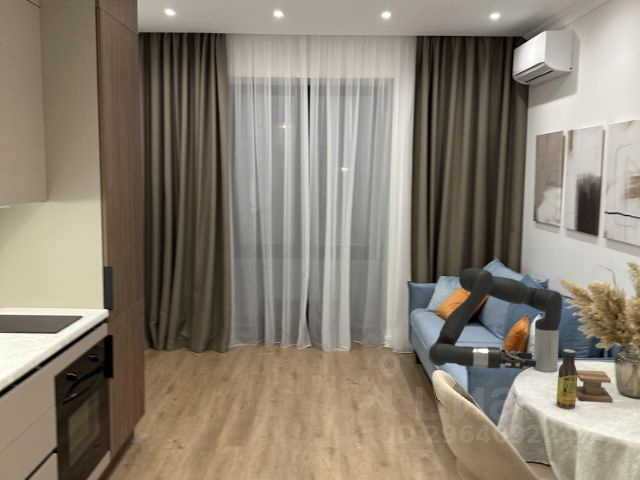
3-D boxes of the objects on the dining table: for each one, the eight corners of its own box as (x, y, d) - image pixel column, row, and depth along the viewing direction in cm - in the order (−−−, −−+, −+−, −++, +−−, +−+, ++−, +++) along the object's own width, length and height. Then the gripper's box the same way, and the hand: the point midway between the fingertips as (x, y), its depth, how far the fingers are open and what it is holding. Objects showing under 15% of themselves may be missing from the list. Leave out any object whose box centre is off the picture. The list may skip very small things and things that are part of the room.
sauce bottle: (563, 410, 206) (565, 354, 204) (552, 403, 212) (554, 348, 210) (580, 408, 208) (582, 352, 205) (569, 401, 214) (571, 347, 211)
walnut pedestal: (572, 389, 225) (573, 369, 224) (603, 391, 223) (604, 370, 222) (579, 400, 214) (580, 379, 213) (612, 402, 212) (613, 380, 211)
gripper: (488, 352, 206) (537, 355, 203) (484, 341, 220) (531, 343, 217) (487, 374, 207) (536, 377, 204) (484, 361, 220) (530, 364, 217)
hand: (533, 359), depth 210 cm, fingers open, 8 cm apart
